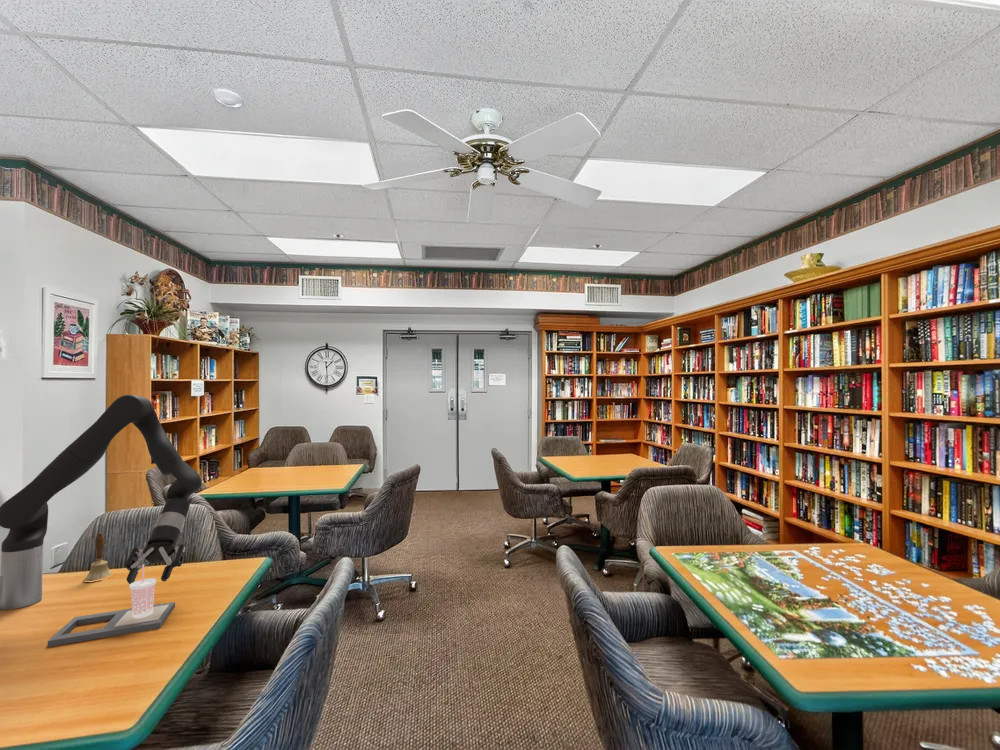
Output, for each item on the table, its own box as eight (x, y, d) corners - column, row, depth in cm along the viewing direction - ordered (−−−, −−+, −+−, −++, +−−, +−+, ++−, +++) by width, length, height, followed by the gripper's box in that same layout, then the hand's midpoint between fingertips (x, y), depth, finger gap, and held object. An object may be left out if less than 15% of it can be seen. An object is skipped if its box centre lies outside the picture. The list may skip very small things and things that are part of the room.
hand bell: (119, 574, 168) (120, 530, 168) (95, 583, 159) (96, 536, 160) (102, 573, 169) (102, 528, 170) (76, 582, 161) (77, 535, 162)
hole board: (47, 647, 118) (47, 640, 118) (74, 622, 131) (74, 616, 131) (160, 628, 127) (160, 621, 127) (174, 606, 140) (174, 601, 140)
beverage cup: (151, 607, 136) (151, 559, 136) (159, 612, 132) (160, 563, 133) (125, 616, 131) (126, 565, 131) (133, 621, 127) (133, 570, 128)
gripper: (137, 525, 142) (112, 578, 130) (188, 522, 144) (169, 573, 133) (146, 538, 147) (124, 589, 135) (196, 534, 149) (178, 585, 138)
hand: (146, 581), depth 134 cm, fingers open, 8 cm apart
